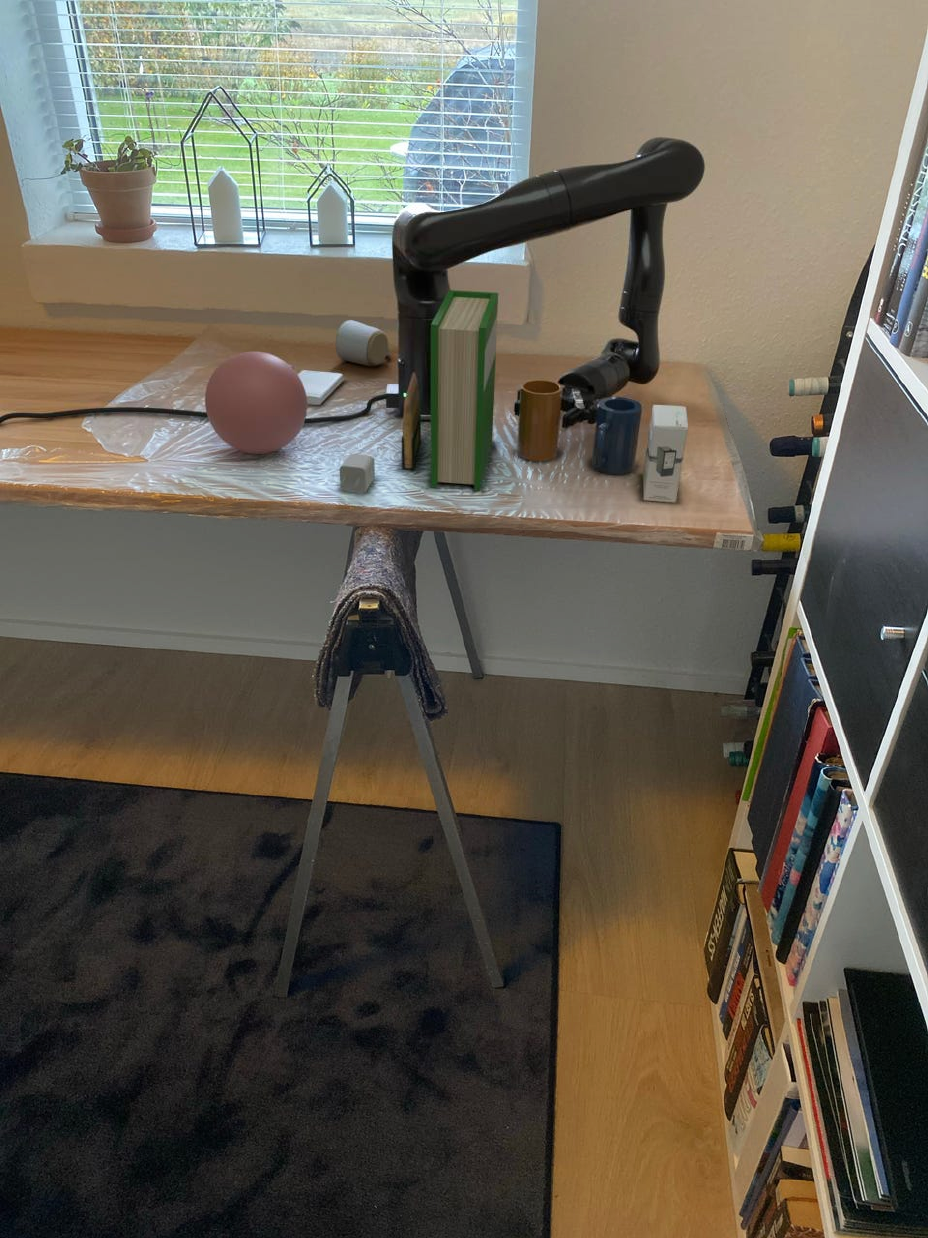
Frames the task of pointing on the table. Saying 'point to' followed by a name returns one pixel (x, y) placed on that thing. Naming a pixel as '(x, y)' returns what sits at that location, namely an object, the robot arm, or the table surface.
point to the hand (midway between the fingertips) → (540, 415)
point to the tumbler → (539, 420)
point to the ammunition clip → (411, 426)
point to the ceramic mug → (361, 343)
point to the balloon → (256, 402)
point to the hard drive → (319, 385)
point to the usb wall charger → (357, 473)
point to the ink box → (664, 453)
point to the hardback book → (462, 386)
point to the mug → (616, 435)
